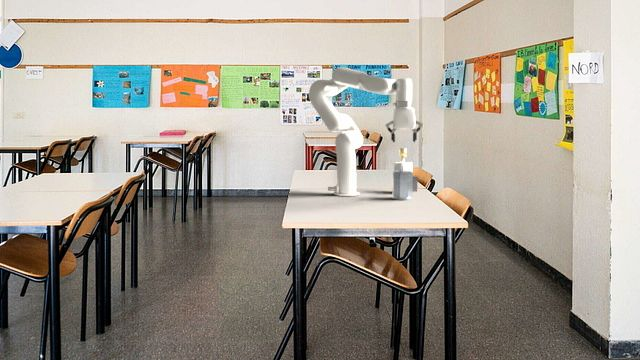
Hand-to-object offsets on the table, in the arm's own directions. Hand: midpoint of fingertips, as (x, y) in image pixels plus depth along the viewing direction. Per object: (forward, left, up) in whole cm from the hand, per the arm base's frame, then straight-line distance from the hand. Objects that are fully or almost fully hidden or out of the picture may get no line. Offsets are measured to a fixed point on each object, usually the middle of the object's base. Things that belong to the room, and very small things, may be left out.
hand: (403, 141), depth 296 cm
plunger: (0, 0, -19) cm, 19 cm away
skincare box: (+3, +20, -27) cm, 34 cm away
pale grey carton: (+1, 0, -27) cm, 27 cm away
